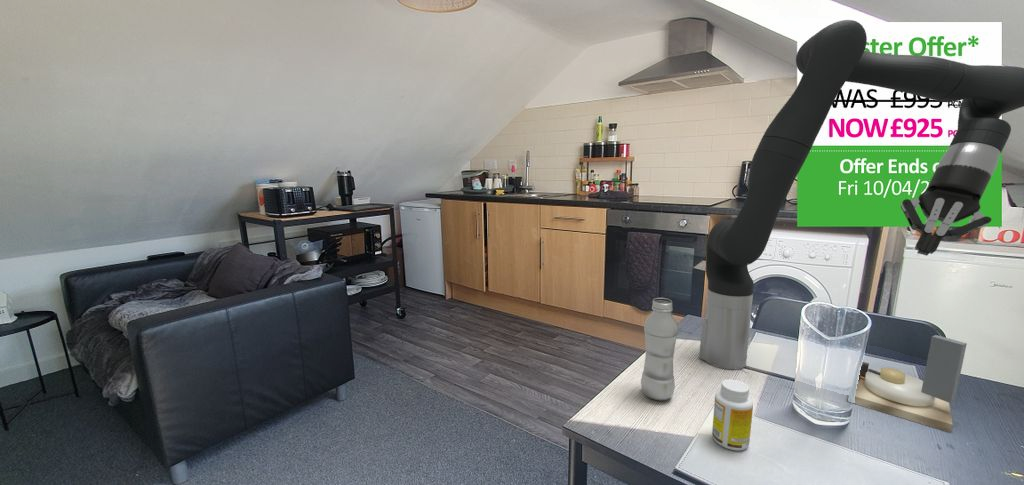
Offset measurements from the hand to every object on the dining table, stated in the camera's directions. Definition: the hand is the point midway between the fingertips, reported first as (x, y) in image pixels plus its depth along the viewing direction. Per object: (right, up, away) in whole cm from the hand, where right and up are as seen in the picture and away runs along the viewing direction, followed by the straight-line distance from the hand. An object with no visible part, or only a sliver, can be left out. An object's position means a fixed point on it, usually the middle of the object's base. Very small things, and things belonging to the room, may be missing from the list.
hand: (923, 253), depth 79 cm
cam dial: (-3, -27, 0) cm, 27 cm away
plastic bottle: (-50, -29, +4) cm, 58 cm away
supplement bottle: (-42, -31, -10) cm, 54 cm away
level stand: (-4, -29, +1) cm, 29 cm away
